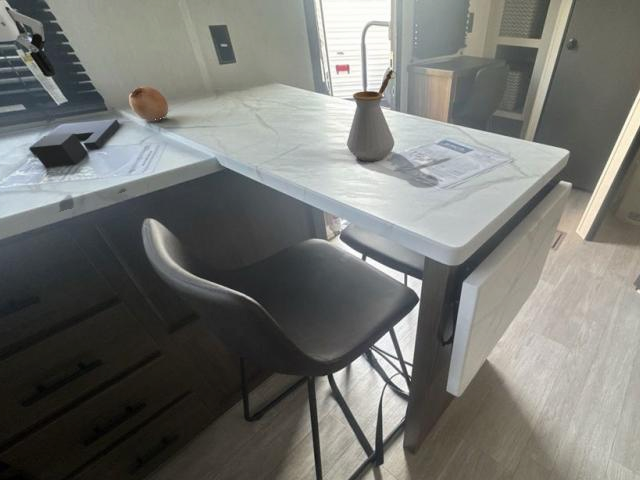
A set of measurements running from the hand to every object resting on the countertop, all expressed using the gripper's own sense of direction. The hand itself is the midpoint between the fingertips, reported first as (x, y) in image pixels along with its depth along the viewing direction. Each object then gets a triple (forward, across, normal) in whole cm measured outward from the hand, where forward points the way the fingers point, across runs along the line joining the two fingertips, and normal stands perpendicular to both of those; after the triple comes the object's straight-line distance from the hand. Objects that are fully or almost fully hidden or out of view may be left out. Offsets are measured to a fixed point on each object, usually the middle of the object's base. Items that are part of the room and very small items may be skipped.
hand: (23, 77), depth 65 cm
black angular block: (+16, -3, 0) cm, 17 cm away
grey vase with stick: (+17, +71, -15) cm, 75 cm away
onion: (+17, +11, +28) cm, 34 cm away
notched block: (+16, -6, +16) cm, 24 cm away
